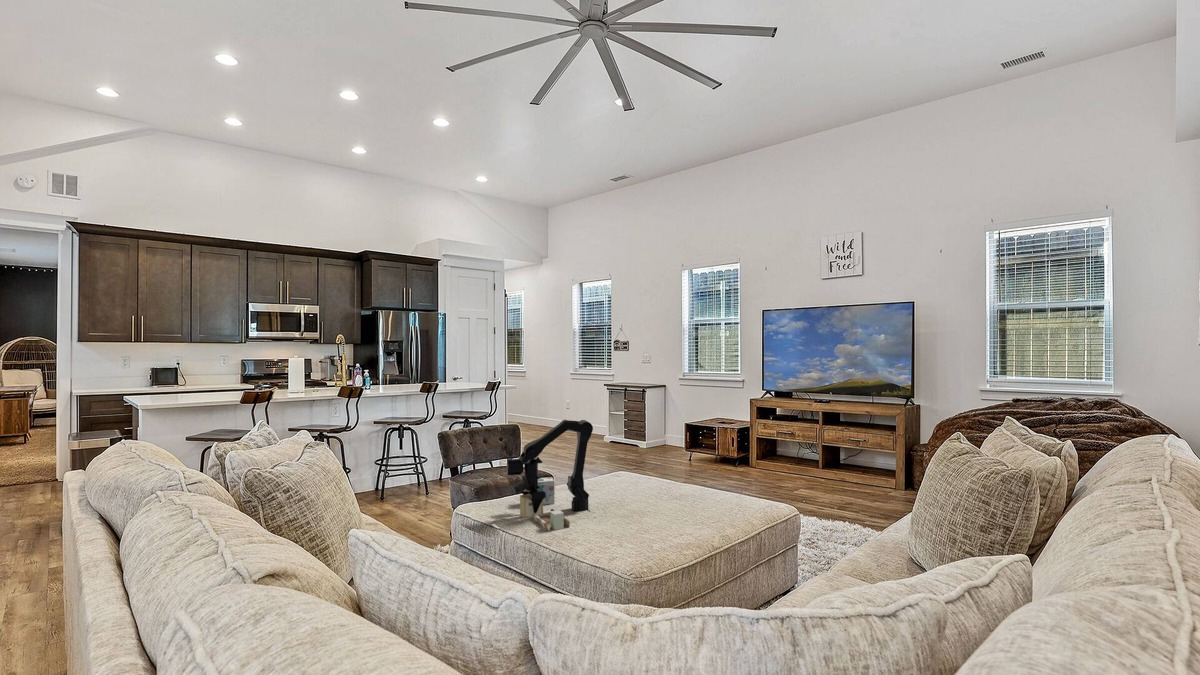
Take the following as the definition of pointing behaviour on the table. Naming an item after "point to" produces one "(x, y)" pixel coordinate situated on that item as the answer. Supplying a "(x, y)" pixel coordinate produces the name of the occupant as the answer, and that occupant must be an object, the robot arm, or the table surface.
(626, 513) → the table surface
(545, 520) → the shelf
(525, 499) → the carton
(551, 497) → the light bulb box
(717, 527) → the table surface
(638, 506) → the table surface
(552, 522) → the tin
